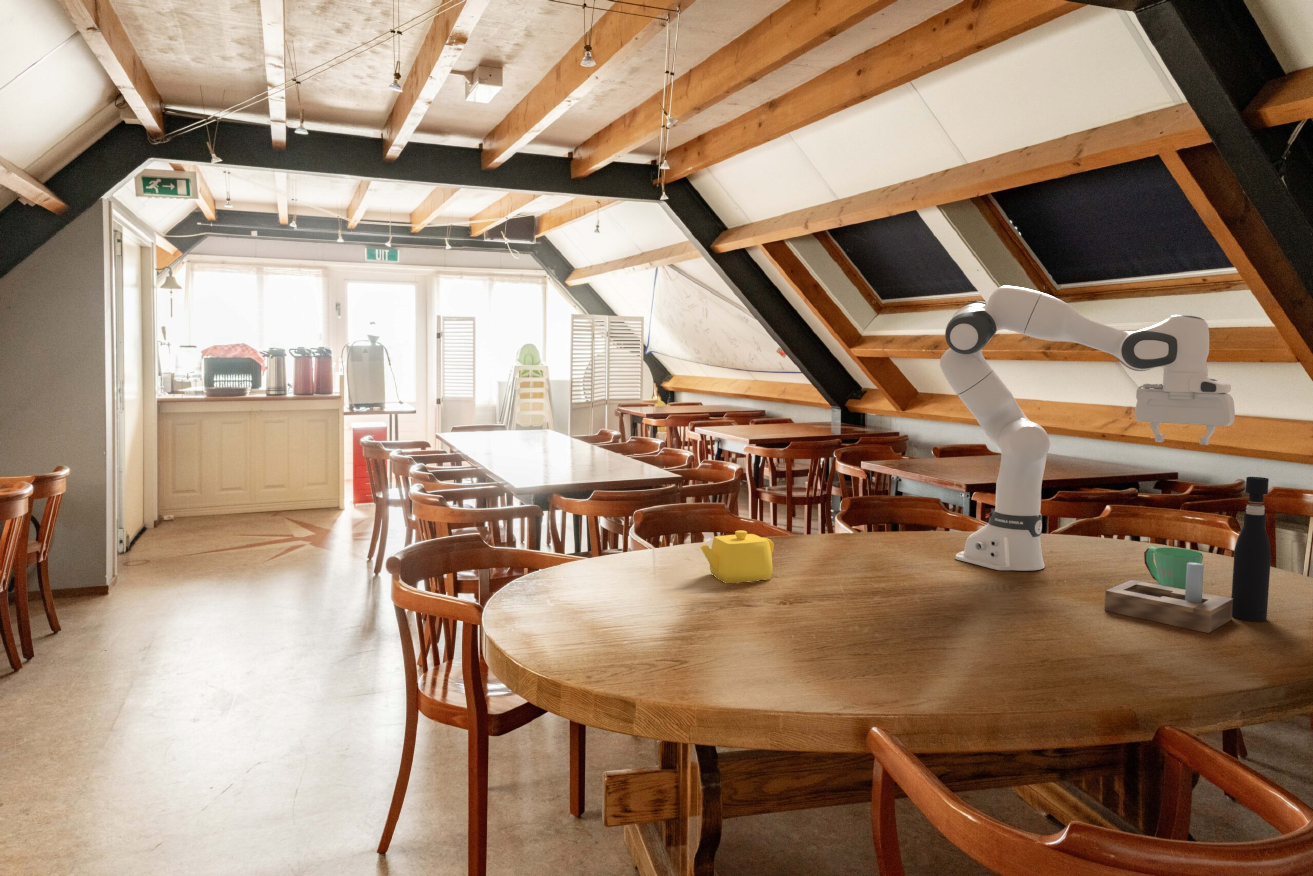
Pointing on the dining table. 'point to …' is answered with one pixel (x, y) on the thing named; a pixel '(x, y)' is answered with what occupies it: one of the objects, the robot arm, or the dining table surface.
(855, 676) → the dining table surface
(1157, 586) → the keyhole board
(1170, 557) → the mug
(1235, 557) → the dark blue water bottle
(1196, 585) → the peg
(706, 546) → the teapot
